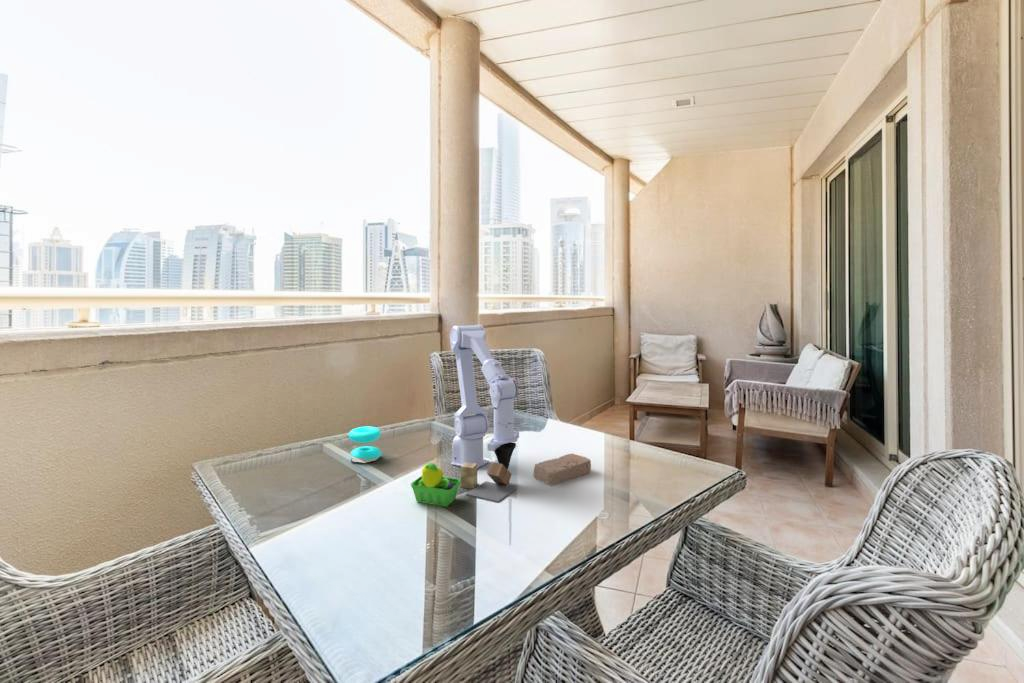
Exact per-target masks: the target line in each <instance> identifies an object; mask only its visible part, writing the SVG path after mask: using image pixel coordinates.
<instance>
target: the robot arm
mask: <svg viewBox="0 0 1024 683" xmlns="http://www.w3.org/2000/svg"><path fill="white" fill-rule="evenodd" d="M486 339H487V332H486V330H485V327H484V326H483V325H482V324H473V325H453V326H452V328H451V330H450V332H449V341H450V342H449V343H450V349H451V352H452V354H454V356H455V360H456V361H455V362H456V368H457V376H458V378H457V379H458V385H459V394H460V401H461V407H459V409H458V410H457V411H456V412H455V413H454V423H453V424H454V425H453V429H454V432H455V434H456V435H455V436H454V438H453V440H452V444H451V448H452V451H451V452H452V453H451V454H452V462H450V465H453V466H458V467H461V466H462V465H463V464H464V463H465V462H466V463H477V469H479V468H481V467H482V466H484V465H486V464H487V463H489V462H490V460H489V459H484V437H485V436H486V434H487V433H488V431H489V429H490V423H489V418H488V417H487V413H486V412H487V411H486V409H485V408H483V407H482V406H480V405H479V403H478V396H477V394H478V393H477V389H476V388H477V387H476V381H475V373H474V363H473V357H472V356H473V354H475V355H476V357H477V358H478V360H479V362H480V363H481V364H482V366H481V369H480V370H481V373H482V374H483V376H484V377H485V380H486V381H487V383H488V385H489V389H488V392H489V396H490V397H489V398H491V399H490V400H491V406H492V407H493V436H492V437H491V440H490V441H489V442H488V443H486V444H487V445H486V446H487V448H486V449H487V450H486V451H489V452H494V454H495V456H496V459H497V463H500V464H503V465H504V466H505V467H506V468H507V470H509V467H510V463H511V458H512V455H513V452H514V450H515V449H516V447H517V443H516V442H517V441H518V439H519V438H520V431H519V430H515V399H517V397H518V395H519V394H518V393H519V386H518V384H517V381H516V379H515V378H513V377H511V376H510V375H508V374H507V373H506V372H505V369H504V368H503V366H502V364H501V363H500V361H499V360H498V359H494V357H493V355H492V353H491V351H490V349H489V347H488V345H487V340H486ZM468 415H469V416H468Z"/></svg>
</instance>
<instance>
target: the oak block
mask: <svg viewBox="0 0 1024 683" xmlns="http://www.w3.org/2000/svg"><path fill="white" fill-rule="evenodd" d="M460 480H461V481H460V488H462V489H471V490H473V489H474V488H476V487H477V485H478V468H477V463H466V462H465V463H464V464H463V465H462V466H460Z"/></svg>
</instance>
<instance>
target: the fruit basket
mask: <svg viewBox="0 0 1024 683" xmlns="http://www.w3.org/2000/svg"><path fill="white" fill-rule="evenodd" d="M421 472H422V474H421V476H419V477H417V479H415V480H414V481H412V482H411V483H410V486H411V488H412V490H413V494H414V497H415V501H416V502H417V501H418V502H417V503H424V504H428V503H432V505H434V504H435V506H442V507H448V506H449V505H450V504H451V503H453V501H454V500H456V498H457V493H458V490H459V485H461V479H460V478H459V479H458V478H453V477H445V476H444V472H443V470H442V469H441V468H440V467H438V466H436V464H435V463H434V462H428V463H426V464H424V466H423V468H422V470H421Z"/></svg>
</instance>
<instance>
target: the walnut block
mask: <svg viewBox="0 0 1024 683" xmlns="http://www.w3.org/2000/svg"><path fill="white" fill-rule="evenodd" d="M486 474H487V476H488V477H489V478H490V479H491V480H492V481H493V483H496V484H501V485H505V486H509V484H510V481H511V479H512V473H511V472H510V471H509V469H507V468H506V467H505V466H504V465H503V464H500V463H498V462H494V461H490V465H489V467H488V470H487V473H486Z"/></svg>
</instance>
